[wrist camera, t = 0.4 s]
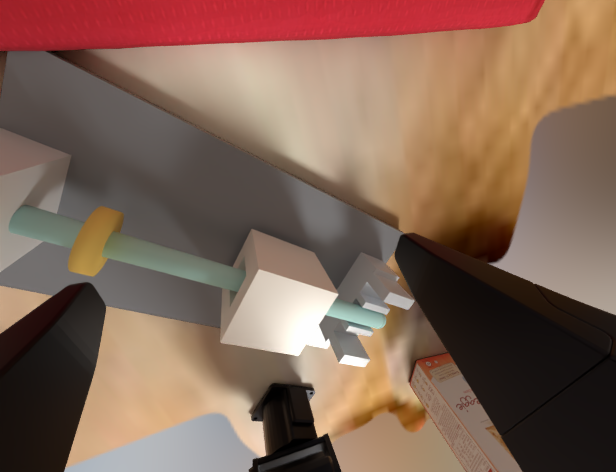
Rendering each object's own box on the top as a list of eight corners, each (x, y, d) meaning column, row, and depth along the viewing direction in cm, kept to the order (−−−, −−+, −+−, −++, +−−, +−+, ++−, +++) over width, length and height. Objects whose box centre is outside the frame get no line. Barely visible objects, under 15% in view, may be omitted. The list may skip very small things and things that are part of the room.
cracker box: (489, 339, 42) (689, 517, 24) (477, 365, 44) (649, 542, 26) (415, 357, 38) (582, 582, 20) (407, 384, 41) (548, 604, 23)
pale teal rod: (363, 322, 27) (382, 353, 24) (-3, 224, 15) (-72, 258, 12) (384, 292, 26) (407, 320, 23) (9, 161, 14) (-63, 178, 11)
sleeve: (283, 303, 25) (298, 356, 19) (222, 287, 22) (219, 342, 17) (314, 252, 23) (338, 294, 18) (251, 228, 20) (258, 269, 15)
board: (323, 340, 31) (346, 396, 25) (-15, 270, 19) (-133, 348, 13) (398, 229, 27) (448, 264, 21) (26, 39, 14) (-123, -13, 8)
